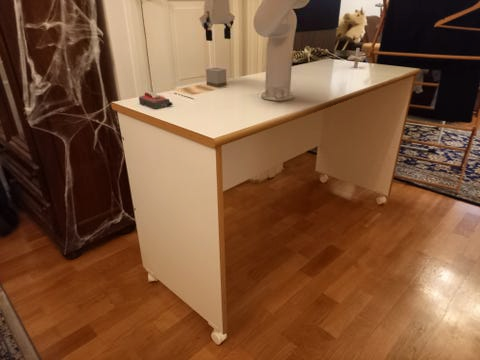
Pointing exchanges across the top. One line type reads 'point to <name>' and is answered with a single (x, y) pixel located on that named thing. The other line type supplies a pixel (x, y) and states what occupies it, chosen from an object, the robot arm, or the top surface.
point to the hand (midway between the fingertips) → (218, 39)
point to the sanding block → (216, 77)
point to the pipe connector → (357, 57)
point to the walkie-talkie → (154, 101)
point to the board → (199, 89)
